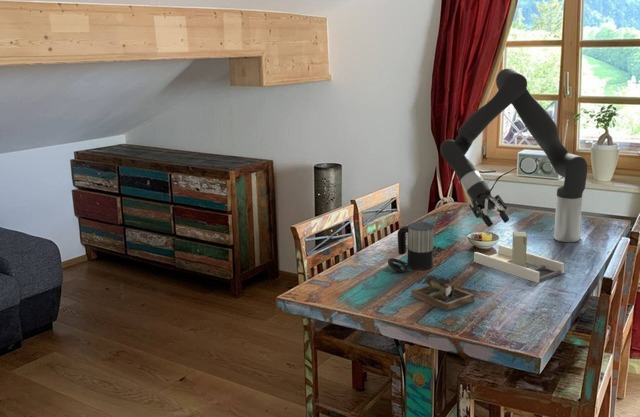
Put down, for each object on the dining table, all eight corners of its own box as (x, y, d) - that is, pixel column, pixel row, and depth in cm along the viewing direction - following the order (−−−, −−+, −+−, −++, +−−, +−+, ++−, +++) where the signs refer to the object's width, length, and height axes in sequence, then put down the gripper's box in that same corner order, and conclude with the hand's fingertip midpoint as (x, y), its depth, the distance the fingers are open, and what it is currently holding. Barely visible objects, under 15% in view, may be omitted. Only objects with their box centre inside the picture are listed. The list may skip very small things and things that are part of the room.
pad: (497, 254, 249) (497, 253, 249) (514, 259, 242) (514, 258, 242) (476, 260, 243) (476, 259, 243) (494, 266, 236) (494, 265, 236)
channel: (499, 253, 250) (500, 244, 249) (563, 273, 228) (564, 263, 227) (473, 261, 242) (474, 252, 241) (537, 282, 220) (537, 272, 220)
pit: (543, 268, 233) (543, 265, 233) (560, 274, 227) (561, 270, 227) (522, 275, 227) (522, 272, 226) (540, 281, 221) (540, 278, 221)
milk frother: (436, 263, 242) (437, 223, 238) (424, 277, 228) (424, 235, 224) (398, 258, 248) (398, 219, 244) (384, 272, 234) (383, 231, 230)
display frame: (438, 287, 219) (439, 281, 219) (474, 301, 207) (474, 294, 207) (411, 296, 213) (411, 290, 212) (446, 311, 201) (446, 304, 200)
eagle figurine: (454, 290, 213) (425, 283, 215) (457, 277, 208) (428, 270, 210) (450, 310, 209) (421, 303, 210) (453, 297, 203) (424, 290, 205)
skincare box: (525, 271, 231) (527, 236, 228) (512, 270, 232) (514, 236, 229) (524, 264, 237) (525, 231, 234) (511, 264, 238) (512, 231, 235)
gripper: (467, 183, 238) (491, 221, 232) (494, 177, 246) (518, 214, 239) (455, 195, 243) (479, 233, 237) (482, 189, 251) (506, 225, 245)
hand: (499, 223), depth 238 cm, fingers open, 8 cm apart
